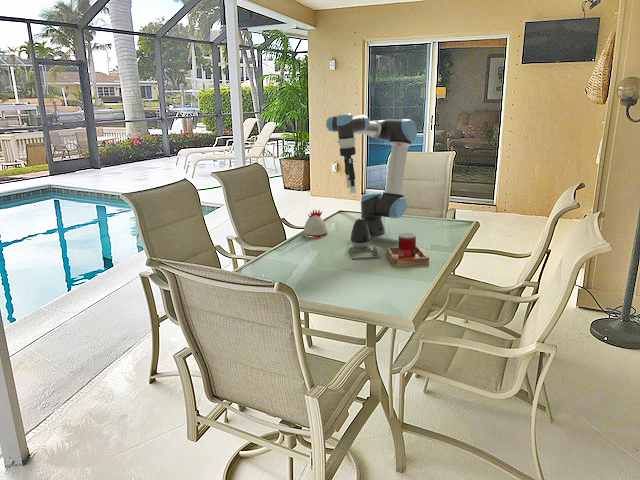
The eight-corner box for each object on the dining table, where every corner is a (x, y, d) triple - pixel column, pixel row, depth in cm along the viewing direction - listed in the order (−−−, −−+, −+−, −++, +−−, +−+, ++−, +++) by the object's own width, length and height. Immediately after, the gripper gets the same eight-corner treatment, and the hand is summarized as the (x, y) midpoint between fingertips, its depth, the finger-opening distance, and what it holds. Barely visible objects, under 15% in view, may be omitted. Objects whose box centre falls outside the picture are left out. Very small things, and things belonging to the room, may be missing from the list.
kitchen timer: (330, 236, 279) (329, 210, 275) (306, 238, 276) (305, 212, 272) (324, 231, 292) (323, 206, 288) (301, 233, 289) (300, 208, 285)
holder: (349, 251, 248) (349, 245, 247) (376, 250, 248) (376, 244, 247) (352, 259, 234) (351, 252, 233) (380, 258, 235) (380, 251, 234)
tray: (386, 254, 242) (386, 247, 241) (418, 252, 242) (418, 246, 241) (394, 266, 222) (394, 259, 221) (429, 264, 223) (429, 257, 222)
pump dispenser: (373, 245, 258) (373, 217, 254) (366, 250, 249) (366, 221, 245) (355, 243, 262) (354, 215, 258) (347, 248, 253) (347, 220, 249)
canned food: (415, 260, 228) (415, 237, 225) (398, 259, 229) (398, 237, 226) (415, 255, 235) (415, 233, 232) (398, 255, 236) (398, 233, 234)
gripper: (336, 145, 248) (341, 186, 254) (342, 151, 224) (346, 196, 230) (351, 143, 248) (355, 184, 254) (358, 149, 224) (362, 194, 230)
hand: (351, 190), depth 242 cm, fingers open, 13 cm apart
